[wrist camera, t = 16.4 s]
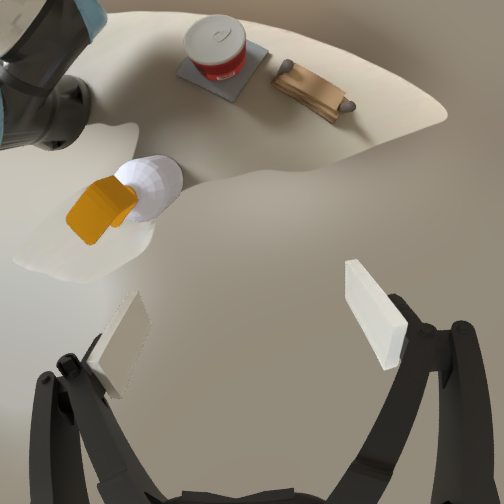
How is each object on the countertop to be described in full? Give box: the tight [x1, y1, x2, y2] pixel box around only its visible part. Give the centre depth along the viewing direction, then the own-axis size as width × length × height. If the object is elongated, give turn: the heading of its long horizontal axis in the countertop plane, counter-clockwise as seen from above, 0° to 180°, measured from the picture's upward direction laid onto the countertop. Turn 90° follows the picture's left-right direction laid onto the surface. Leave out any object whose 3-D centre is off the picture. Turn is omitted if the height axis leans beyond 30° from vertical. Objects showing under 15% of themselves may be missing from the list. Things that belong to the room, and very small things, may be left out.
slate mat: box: [175, 39, 268, 103], centre depth 36 cm, size 11×11×1 cm
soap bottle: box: [66, 155, 183, 245], centre depth 33 cm, size 9×9×25 cm
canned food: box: [184, 15, 246, 81], centre depth 31 cm, size 8×8×11 cm
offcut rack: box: [271, 59, 356, 123], centre depth 36 cm, size 12×5×7 cm, turn 59°
